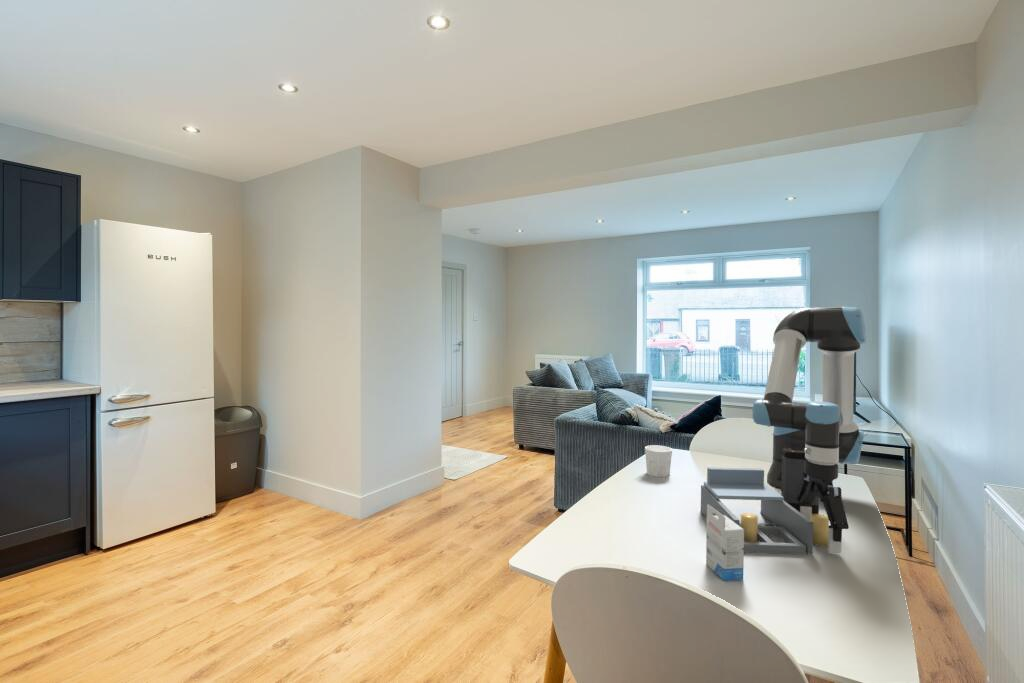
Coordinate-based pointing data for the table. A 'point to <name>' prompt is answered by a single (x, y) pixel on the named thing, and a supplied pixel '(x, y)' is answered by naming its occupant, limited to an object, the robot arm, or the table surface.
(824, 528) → the cylinder
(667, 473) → the cup
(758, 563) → the table surface
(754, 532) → the peg
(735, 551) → the ink box
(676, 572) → the table surface
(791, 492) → the electronic device
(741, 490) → the lid
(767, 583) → the table surface
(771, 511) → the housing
